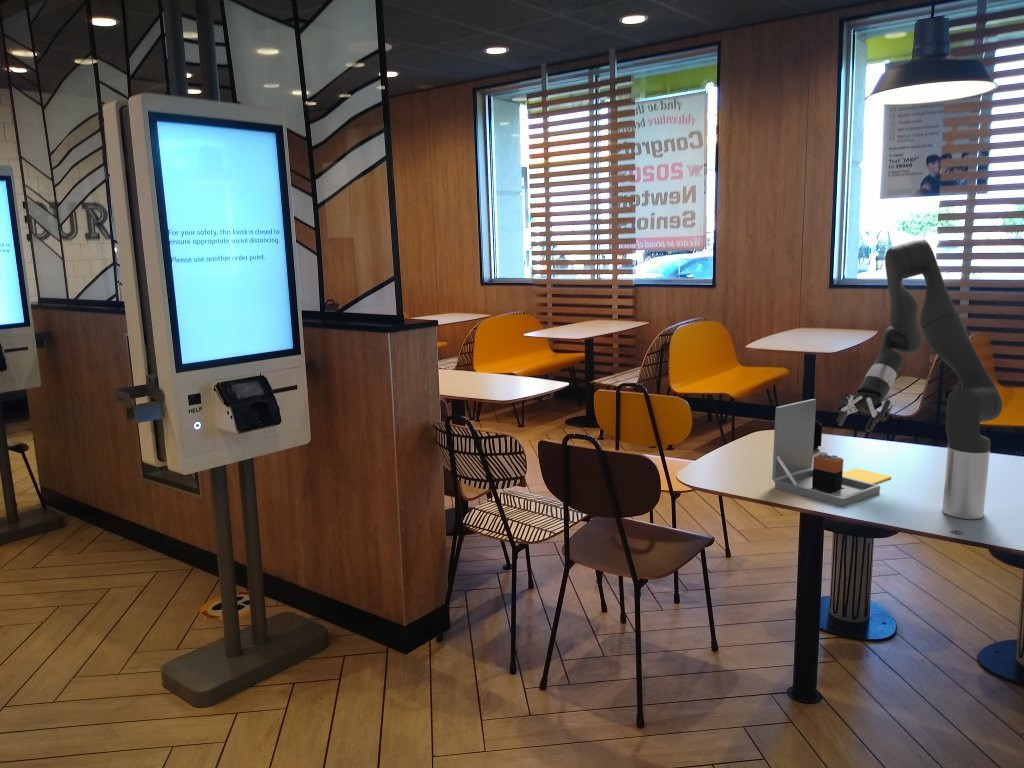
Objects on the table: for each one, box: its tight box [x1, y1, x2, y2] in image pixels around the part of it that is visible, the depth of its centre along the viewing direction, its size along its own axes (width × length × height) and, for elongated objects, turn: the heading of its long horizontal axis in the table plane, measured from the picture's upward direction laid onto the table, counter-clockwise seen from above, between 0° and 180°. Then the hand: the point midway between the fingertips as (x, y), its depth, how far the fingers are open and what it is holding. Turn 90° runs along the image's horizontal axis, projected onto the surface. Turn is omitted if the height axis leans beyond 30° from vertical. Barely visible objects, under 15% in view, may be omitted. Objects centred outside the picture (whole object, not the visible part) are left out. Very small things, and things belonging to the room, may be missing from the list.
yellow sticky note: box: [842, 467, 892, 485], centre depth 234 cm, size 11×11×1 cm
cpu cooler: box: [813, 419, 823, 450], centre depth 266 cm, size 10×6×10 cm, turn 82°
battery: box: [812, 451, 844, 493], centre depth 222 cm, size 4×7×10 cm, turn 39°
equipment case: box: [771, 398, 881, 508], centre depth 221 cm, size 18×22×23 cm
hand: (852, 427), depth 227 cm, fingers open, 8 cm apart
